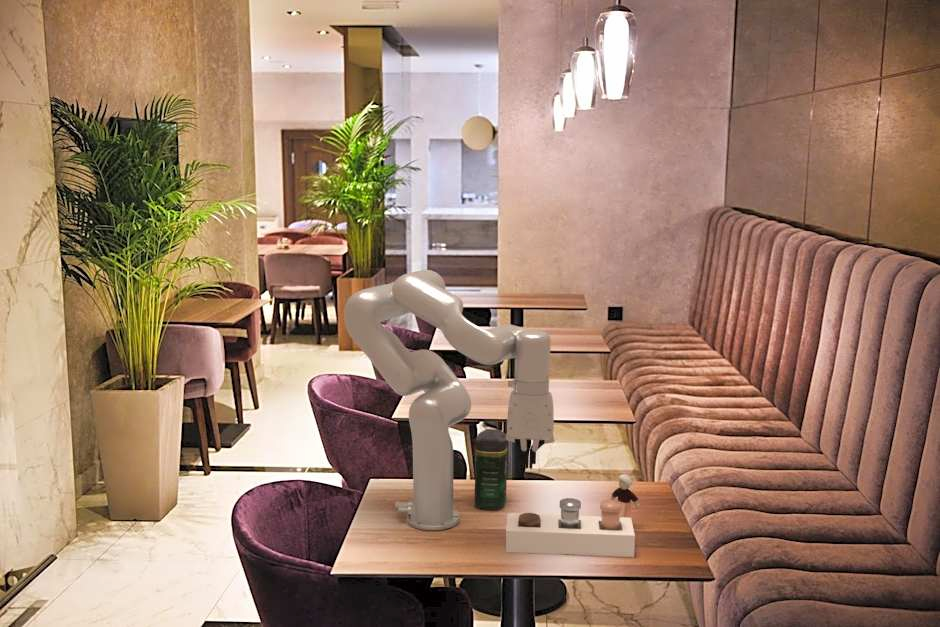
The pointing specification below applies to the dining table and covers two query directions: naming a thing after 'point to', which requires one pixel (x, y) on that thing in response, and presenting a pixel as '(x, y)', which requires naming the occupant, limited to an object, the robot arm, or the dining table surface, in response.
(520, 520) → the walnut plug
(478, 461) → the coffee jar
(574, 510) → the grey plug
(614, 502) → the terracotta plug
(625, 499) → the grandmother figurine
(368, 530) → the dining table surface
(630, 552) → the socket strip
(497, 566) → the dining table surface
